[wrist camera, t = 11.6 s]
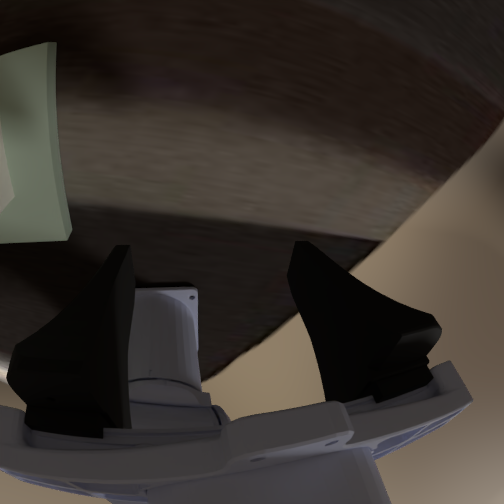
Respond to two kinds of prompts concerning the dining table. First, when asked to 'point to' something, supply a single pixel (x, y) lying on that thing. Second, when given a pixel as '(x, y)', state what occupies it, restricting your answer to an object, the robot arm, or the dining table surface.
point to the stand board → (32, 147)
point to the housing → (4, 178)
